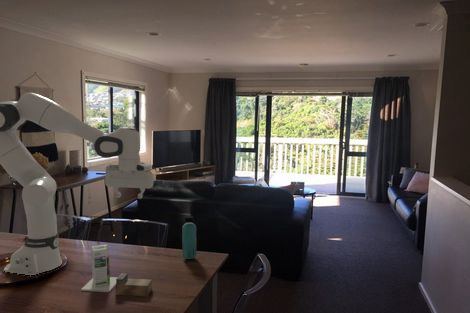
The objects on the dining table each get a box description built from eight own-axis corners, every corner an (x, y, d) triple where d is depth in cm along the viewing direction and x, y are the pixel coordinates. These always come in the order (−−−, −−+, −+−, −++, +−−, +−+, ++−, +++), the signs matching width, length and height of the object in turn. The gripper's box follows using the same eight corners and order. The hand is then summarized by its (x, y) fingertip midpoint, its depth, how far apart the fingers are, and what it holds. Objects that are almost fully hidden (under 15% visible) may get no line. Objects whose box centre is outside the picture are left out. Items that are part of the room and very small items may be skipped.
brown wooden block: (115, 294, 134) (115, 279, 134) (121, 288, 139) (120, 273, 138) (147, 296, 133) (147, 280, 133) (152, 289, 138) (151, 274, 137)
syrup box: (94, 287, 138) (92, 250, 136) (92, 281, 143) (91, 245, 141) (110, 284, 140) (108, 248, 139) (108, 278, 146) (106, 243, 144)
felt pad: (81, 290, 137) (81, 289, 137) (94, 277, 148) (94, 276, 148) (109, 292, 136) (109, 290, 136) (121, 278, 147) (121, 277, 147)
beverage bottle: (194, 262, 163) (194, 219, 161) (180, 261, 165) (179, 218, 162) (198, 257, 170) (198, 215, 167) (184, 255, 171) (184, 214, 169)
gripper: (102, 165, 153) (102, 198, 154) (150, 167, 151) (149, 200, 152) (108, 163, 159) (109, 195, 160) (154, 165, 157) (154, 197, 158)
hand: (129, 197), depth 156 cm, fingers open, 8 cm apart
